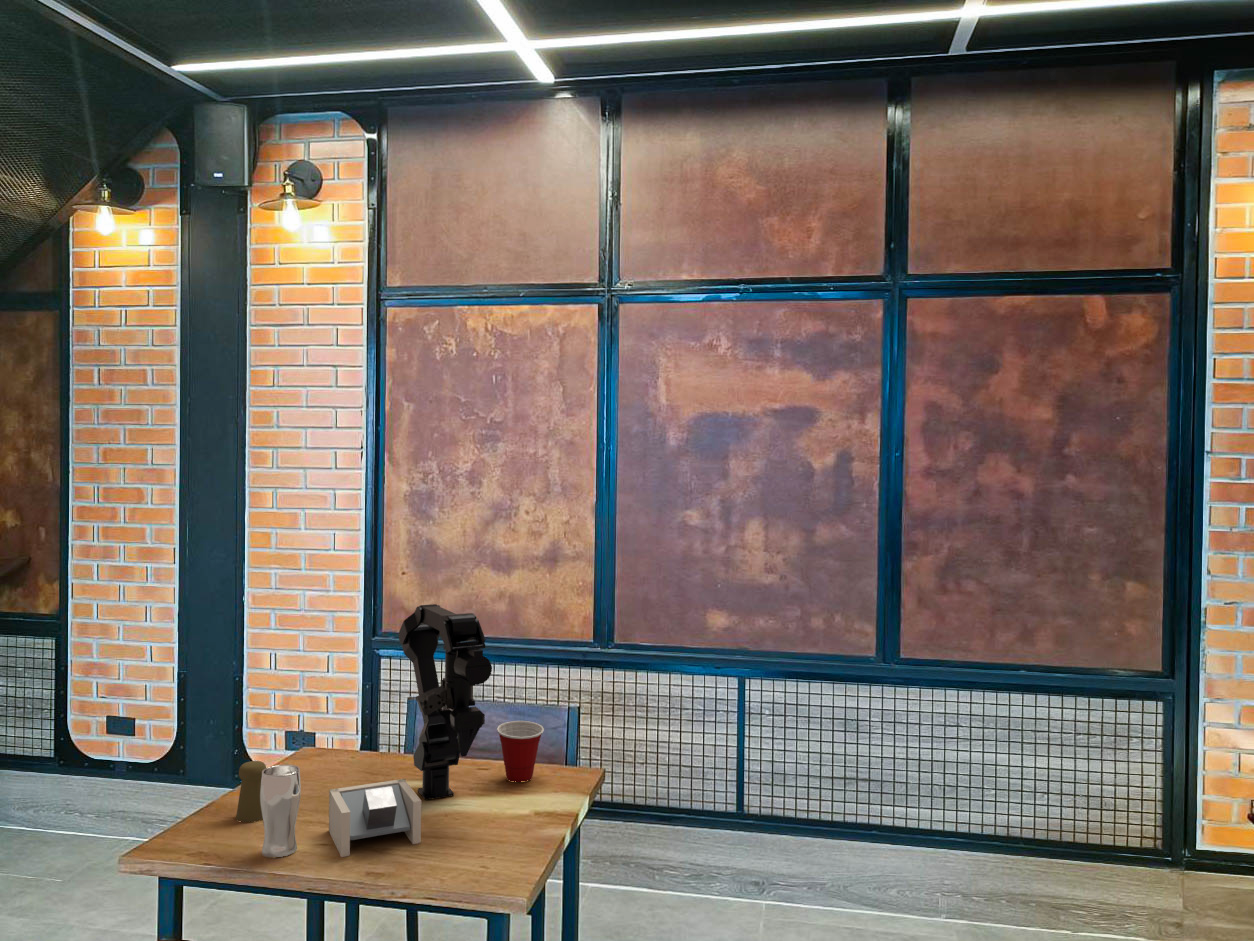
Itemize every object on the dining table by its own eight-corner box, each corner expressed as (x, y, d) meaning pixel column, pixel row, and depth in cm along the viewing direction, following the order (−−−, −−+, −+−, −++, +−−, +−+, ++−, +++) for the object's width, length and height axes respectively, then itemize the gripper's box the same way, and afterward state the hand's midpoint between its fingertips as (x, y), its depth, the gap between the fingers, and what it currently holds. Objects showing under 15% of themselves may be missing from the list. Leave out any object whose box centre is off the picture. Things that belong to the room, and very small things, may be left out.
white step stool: (328, 830, 175) (329, 789, 175) (403, 818, 182) (404, 778, 182) (341, 857, 163) (341, 813, 163) (420, 842, 170) (421, 800, 170)
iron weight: (362, 810, 171) (365, 790, 169) (388, 806, 173) (391, 786, 171) (366, 829, 167) (369, 809, 165) (393, 825, 169) (396, 805, 167)
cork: (274, 814, 183) (275, 760, 183) (250, 824, 177) (251, 769, 178) (252, 809, 185) (253, 756, 186) (228, 819, 180) (229, 764, 180)
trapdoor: (340, 795, 174) (340, 791, 174) (397, 786, 179) (397, 782, 179) (350, 840, 165) (350, 836, 165) (409, 830, 170) (410, 826, 170)
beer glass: (275, 862, 160) (276, 779, 160) (251, 853, 164) (252, 771, 164) (307, 849, 166) (309, 768, 166) (283, 840, 170) (284, 761, 170)
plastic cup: (506, 790, 199) (507, 736, 199) (489, 775, 208) (489, 724, 208) (551, 782, 204) (552, 729, 204) (531, 768, 214) (532, 718, 214)
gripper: (410, 668, 191) (409, 741, 191) (430, 688, 174) (429, 768, 174) (462, 664, 195) (460, 735, 195) (486, 683, 179) (484, 761, 179)
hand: (457, 749), depth 186 cm, fingers open, 9 cm apart
